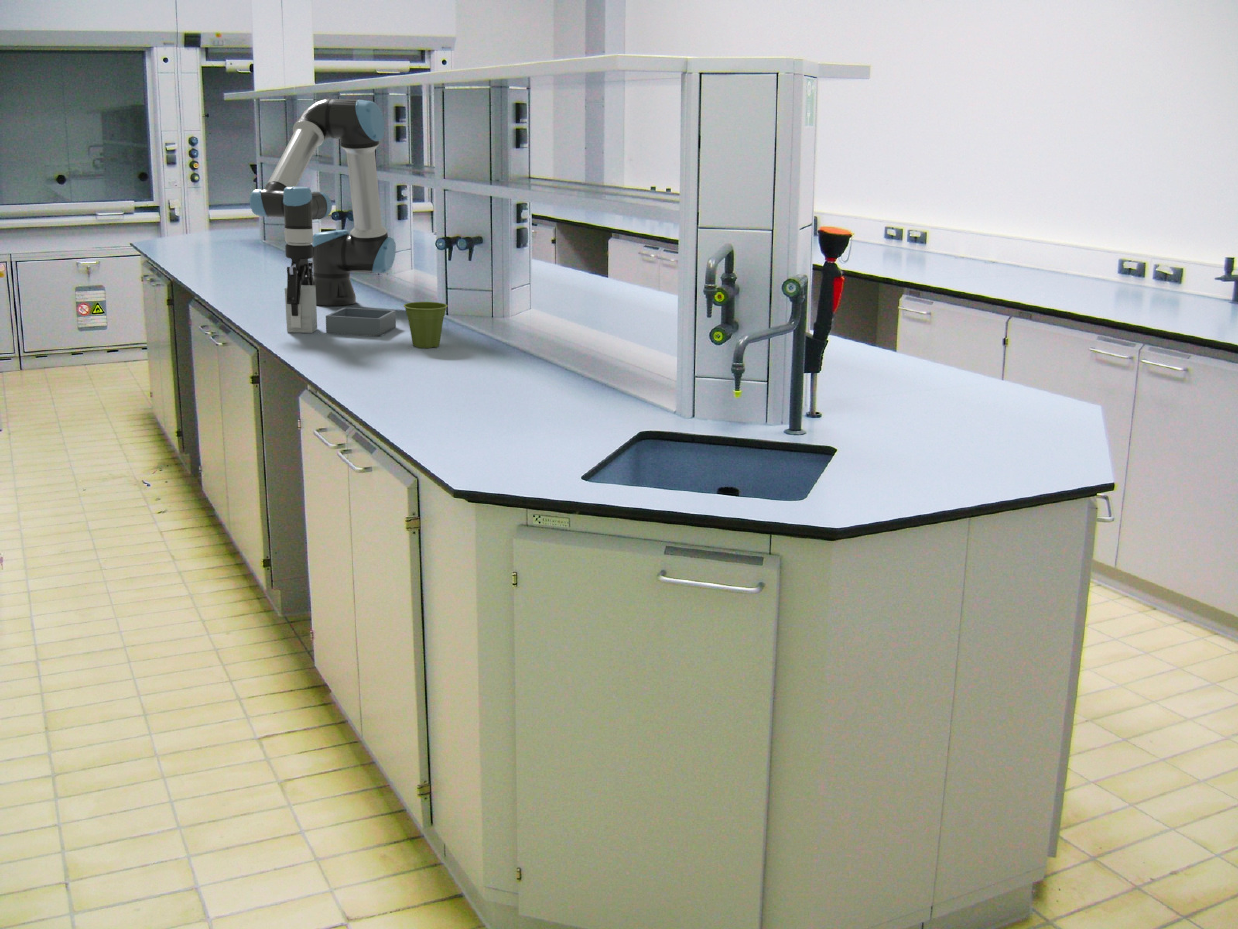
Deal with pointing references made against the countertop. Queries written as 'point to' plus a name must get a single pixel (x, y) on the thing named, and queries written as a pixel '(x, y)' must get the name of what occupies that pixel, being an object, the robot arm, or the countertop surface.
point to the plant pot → (425, 322)
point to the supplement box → (304, 310)
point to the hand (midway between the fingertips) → (302, 324)
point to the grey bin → (361, 322)
